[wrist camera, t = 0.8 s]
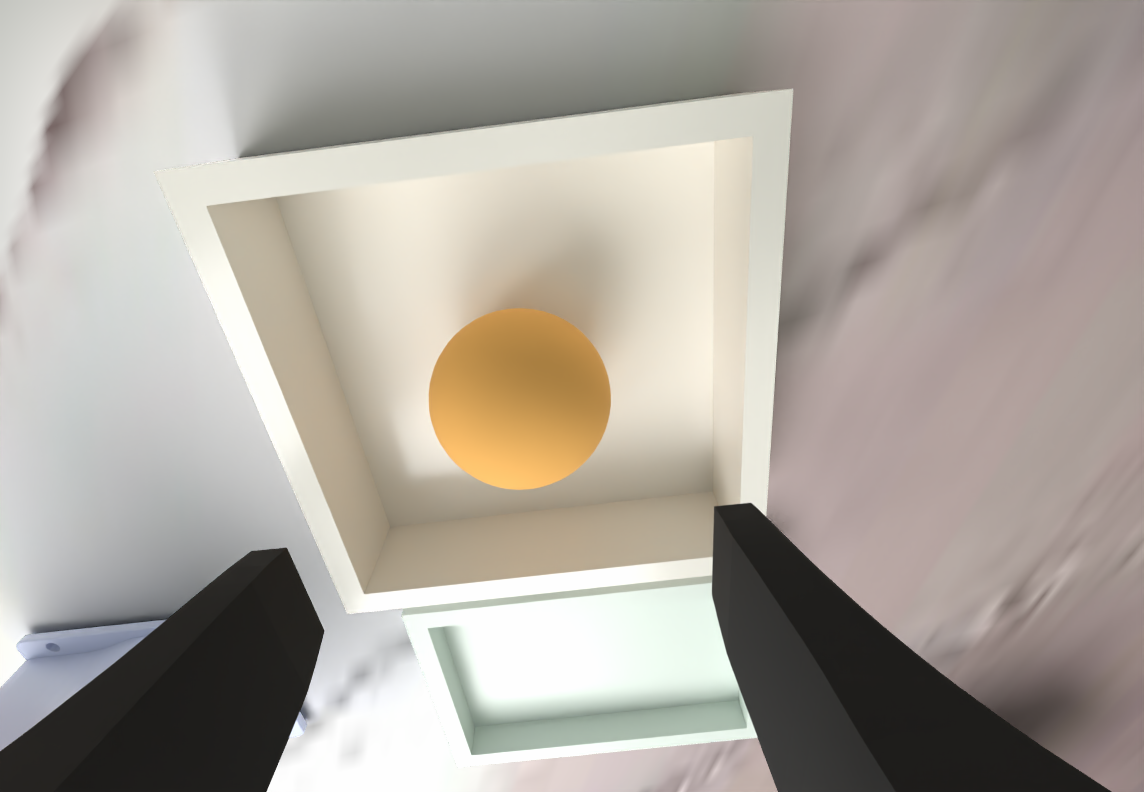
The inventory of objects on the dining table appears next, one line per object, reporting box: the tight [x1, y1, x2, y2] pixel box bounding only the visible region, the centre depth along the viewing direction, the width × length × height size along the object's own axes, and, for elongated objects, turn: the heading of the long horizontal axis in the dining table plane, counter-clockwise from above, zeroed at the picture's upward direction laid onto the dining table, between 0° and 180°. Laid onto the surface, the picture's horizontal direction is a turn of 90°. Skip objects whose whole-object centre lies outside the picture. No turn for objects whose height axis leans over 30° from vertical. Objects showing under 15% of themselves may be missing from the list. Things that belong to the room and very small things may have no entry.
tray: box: [401, 575, 758, 767], centre depth 23 cm, size 14×10×2 cm
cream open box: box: [154, 89, 793, 614], centre depth 16 cm, size 14×14×4 cm
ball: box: [429, 308, 611, 490], centre depth 15 cm, size 5×5×5 cm
